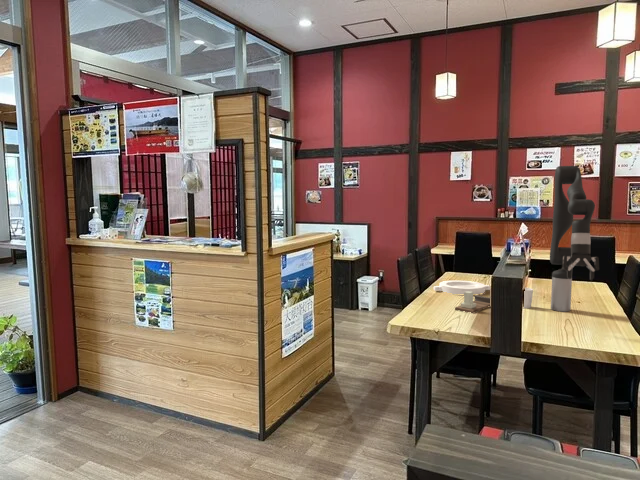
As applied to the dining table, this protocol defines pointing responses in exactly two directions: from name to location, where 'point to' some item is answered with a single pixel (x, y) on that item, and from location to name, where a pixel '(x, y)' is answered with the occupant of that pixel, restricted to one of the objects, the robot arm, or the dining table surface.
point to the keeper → (468, 300)
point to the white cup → (528, 297)
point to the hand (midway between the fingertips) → (580, 279)
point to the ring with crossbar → (461, 287)
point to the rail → (480, 304)
